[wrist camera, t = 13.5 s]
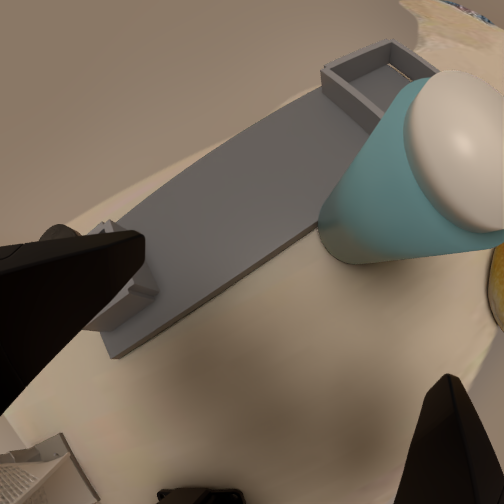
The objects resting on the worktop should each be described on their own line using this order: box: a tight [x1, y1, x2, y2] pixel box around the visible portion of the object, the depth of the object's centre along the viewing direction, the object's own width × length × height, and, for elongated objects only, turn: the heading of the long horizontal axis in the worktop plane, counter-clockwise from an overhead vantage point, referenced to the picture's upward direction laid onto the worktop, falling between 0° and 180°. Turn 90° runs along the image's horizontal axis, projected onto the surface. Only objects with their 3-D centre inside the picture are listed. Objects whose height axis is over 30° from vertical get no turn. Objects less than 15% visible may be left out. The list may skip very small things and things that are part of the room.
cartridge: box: [318, 70, 504, 264], centre depth 11 cm, size 5×5×13 cm
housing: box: [82, 39, 440, 359], centre depth 19 cm, size 32×9×4 cm, turn 123°
